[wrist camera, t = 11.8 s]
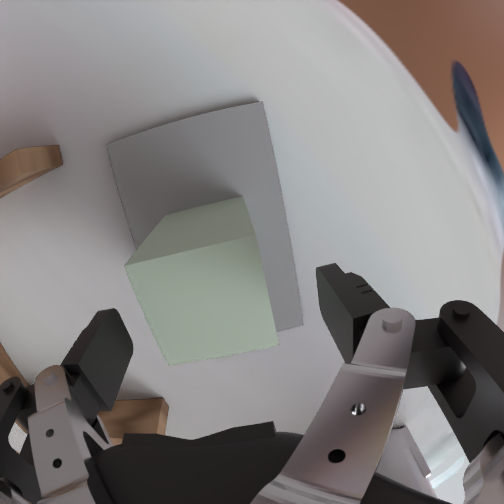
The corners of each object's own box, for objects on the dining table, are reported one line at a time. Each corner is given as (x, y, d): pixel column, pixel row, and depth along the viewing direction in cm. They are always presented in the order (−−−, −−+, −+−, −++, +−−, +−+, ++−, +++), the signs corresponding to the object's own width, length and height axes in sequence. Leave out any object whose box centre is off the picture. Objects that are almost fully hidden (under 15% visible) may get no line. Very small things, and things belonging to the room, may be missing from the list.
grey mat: (261, 102, 16) (262, 101, 15) (301, 320, 22) (303, 325, 21) (110, 144, 16) (106, 144, 15) (179, 346, 22) (178, 351, 21)
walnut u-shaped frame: (58, 144, 15) (16, 149, 11) (168, 406, 24) (163, 446, 20) (-57, 222, 15) (-87, 238, 11) (38, 405, 24) (25, 433, 20)
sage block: (242, 196, 17) (255, 234, 10) (258, 269, 19) (279, 345, 12) (165, 215, 17) (124, 266, 10) (187, 284, 19) (168, 365, 12)
